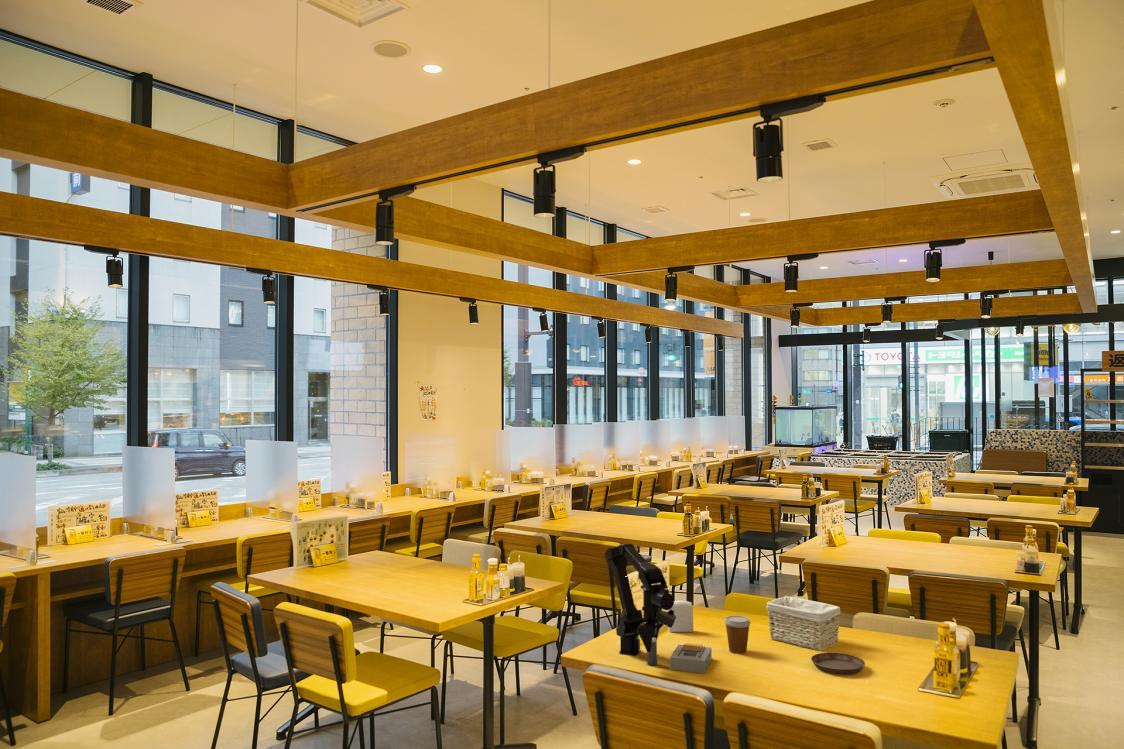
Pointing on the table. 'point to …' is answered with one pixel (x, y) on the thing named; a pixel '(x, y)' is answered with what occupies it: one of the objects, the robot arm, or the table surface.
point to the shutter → (692, 647)
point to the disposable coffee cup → (737, 633)
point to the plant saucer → (838, 663)
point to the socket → (690, 659)
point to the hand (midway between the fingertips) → (651, 648)
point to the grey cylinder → (652, 654)
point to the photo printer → (682, 617)
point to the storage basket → (803, 622)
